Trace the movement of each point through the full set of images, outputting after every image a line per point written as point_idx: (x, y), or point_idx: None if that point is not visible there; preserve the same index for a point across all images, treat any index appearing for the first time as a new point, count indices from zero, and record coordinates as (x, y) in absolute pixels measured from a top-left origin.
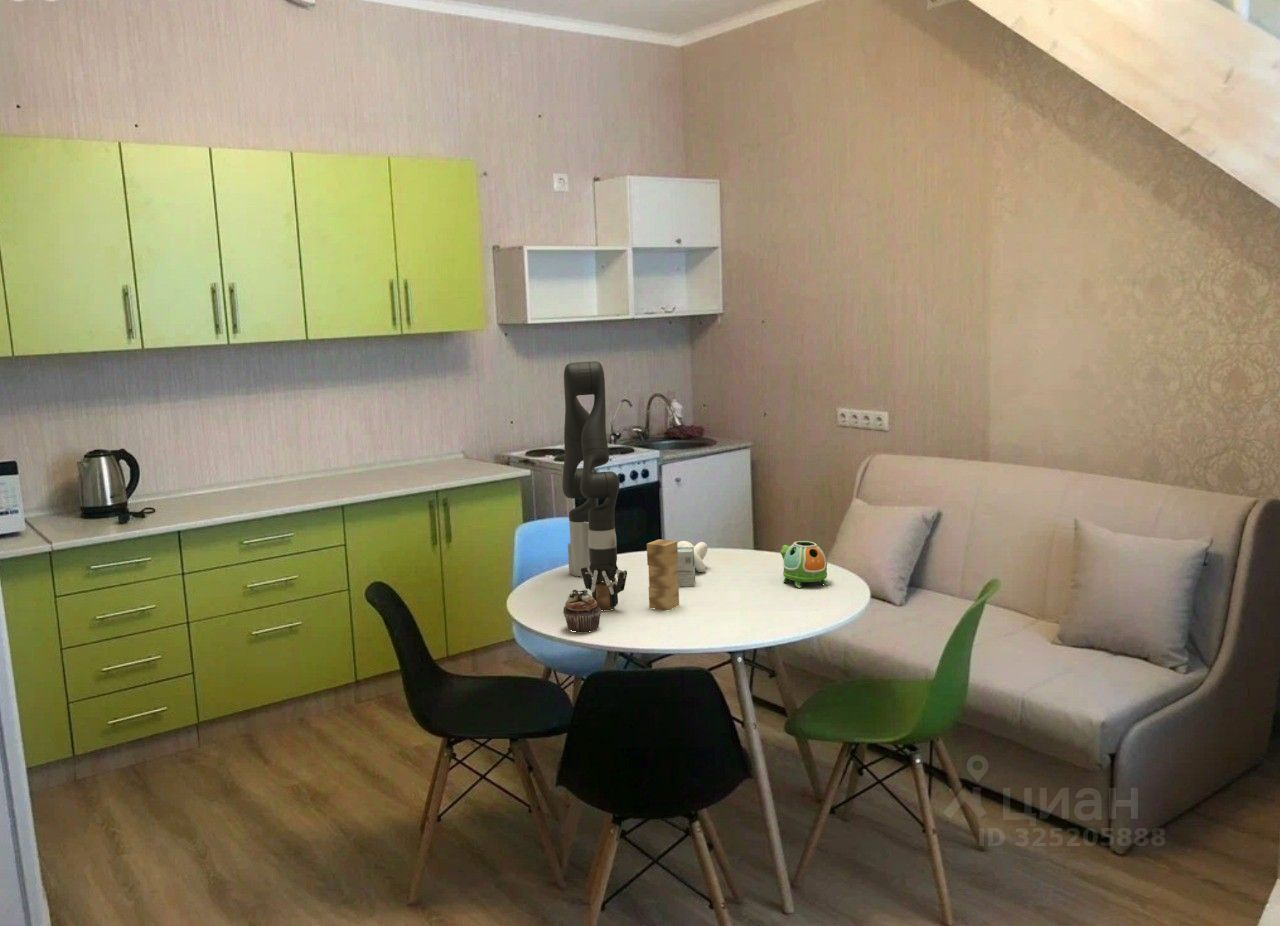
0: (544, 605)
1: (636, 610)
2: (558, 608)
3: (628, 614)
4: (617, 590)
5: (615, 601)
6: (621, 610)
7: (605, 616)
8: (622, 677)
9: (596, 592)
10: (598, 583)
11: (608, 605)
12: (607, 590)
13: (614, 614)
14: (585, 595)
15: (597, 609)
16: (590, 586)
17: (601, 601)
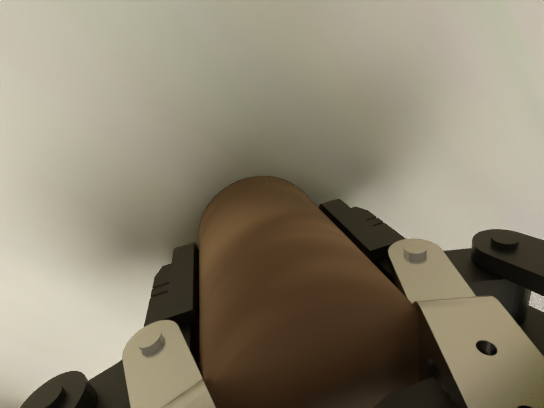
0: None
1: (60, 340)
2: (533, 34)
3: (2, 256)
4: (36, 405)
5: (154, 293)
6: (141, 278)
7: (93, 101)
8: None
9: (340, 242)
10: (408, 359)
11: (202, 235)
12: (208, 329)
13: (88, 188)
14: None
15: None
16: (475, 274)
17: (246, 210)
